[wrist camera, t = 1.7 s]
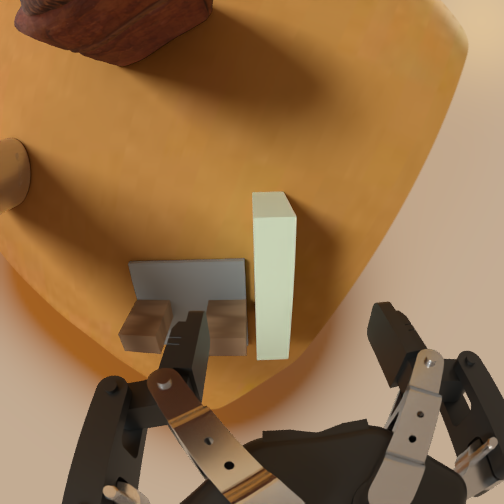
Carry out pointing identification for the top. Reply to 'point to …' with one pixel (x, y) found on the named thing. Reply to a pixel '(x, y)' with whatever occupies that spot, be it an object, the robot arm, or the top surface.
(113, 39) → the wooden figurine
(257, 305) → the pale green upright slab
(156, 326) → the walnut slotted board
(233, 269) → the charcoal base board
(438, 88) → the top surface
